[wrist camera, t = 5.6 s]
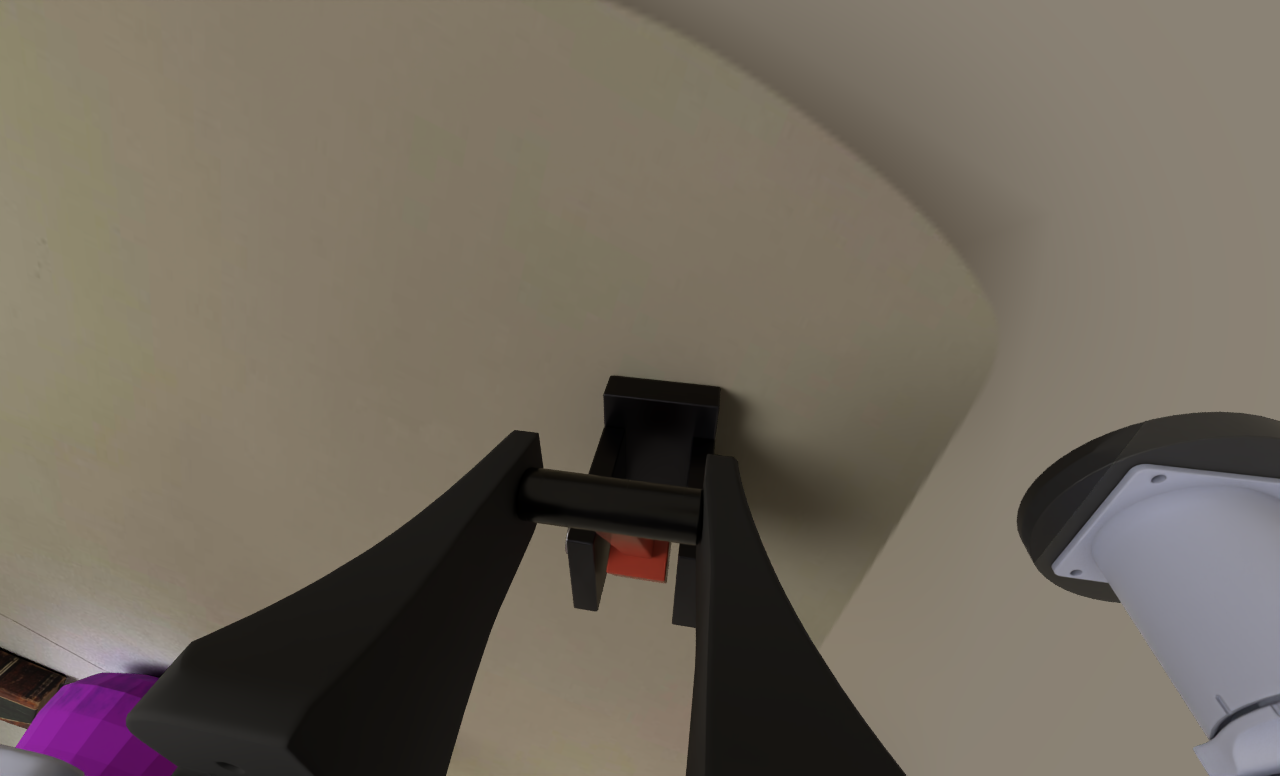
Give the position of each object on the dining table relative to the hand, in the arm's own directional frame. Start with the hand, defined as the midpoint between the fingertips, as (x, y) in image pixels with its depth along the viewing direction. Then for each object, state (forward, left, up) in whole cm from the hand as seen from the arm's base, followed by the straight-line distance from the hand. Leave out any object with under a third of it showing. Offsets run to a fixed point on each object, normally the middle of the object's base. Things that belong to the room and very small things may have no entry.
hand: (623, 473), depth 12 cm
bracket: (0, +8, -10) cm, 13 cm away
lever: (0, +4, -3) cm, 5 cm away
